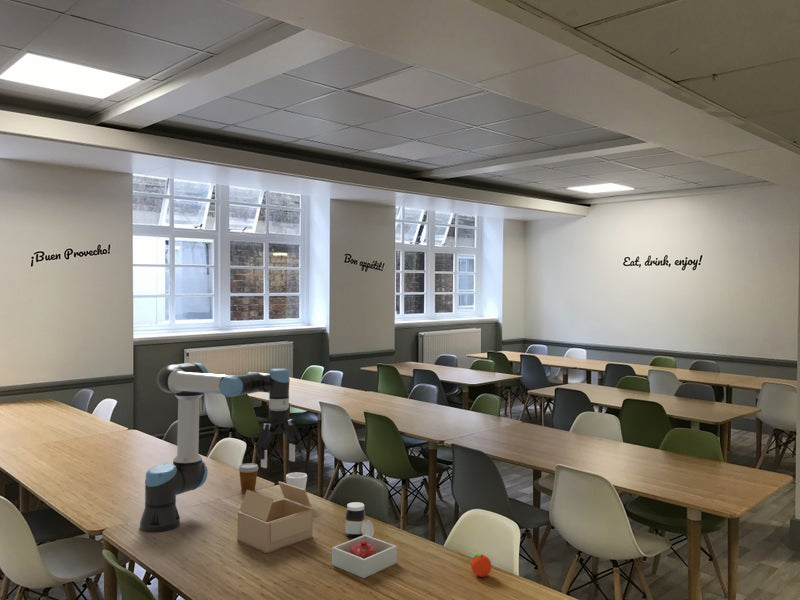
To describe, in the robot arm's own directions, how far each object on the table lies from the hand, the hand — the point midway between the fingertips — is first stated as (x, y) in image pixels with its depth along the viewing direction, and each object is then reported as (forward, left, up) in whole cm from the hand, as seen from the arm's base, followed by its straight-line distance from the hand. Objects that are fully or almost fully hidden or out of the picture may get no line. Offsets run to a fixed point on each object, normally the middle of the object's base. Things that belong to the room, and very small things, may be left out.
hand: (278, 464), depth 241 cm
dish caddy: (+7, -40, -29) cm, 50 cm away
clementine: (+27, -75, -29) cm, 85 cm away
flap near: (-9, +1, -14) cm, 17 cm away
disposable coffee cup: (+29, +59, -29) cm, 71 cm away
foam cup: (+32, +27, -29) cm, 51 cm away
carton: (0, +1, -29) cm, 29 cm away
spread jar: (+25, -20, -29) cm, 43 cm away
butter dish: (+6, -40, -29) cm, 50 cm away
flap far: (+9, +1, -14) cm, 16 cm away
